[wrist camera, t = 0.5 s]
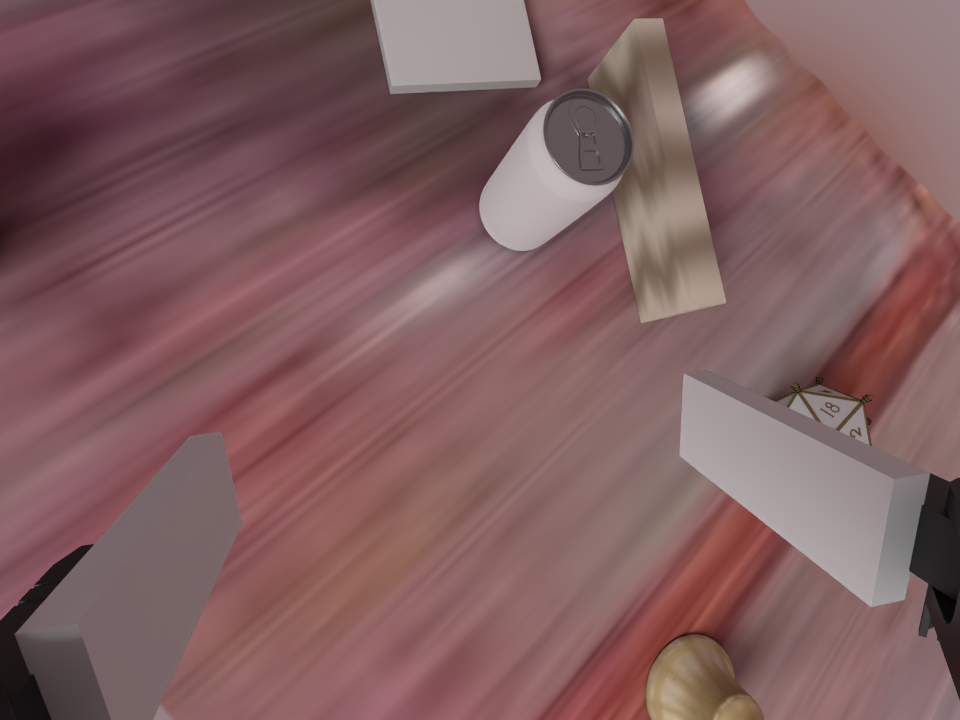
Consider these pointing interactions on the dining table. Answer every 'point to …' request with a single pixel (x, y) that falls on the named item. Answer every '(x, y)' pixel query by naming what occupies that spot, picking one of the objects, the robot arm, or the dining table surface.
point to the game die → (831, 409)
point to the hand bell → (697, 684)
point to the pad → (455, 45)
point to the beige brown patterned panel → (658, 180)
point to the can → (557, 169)
